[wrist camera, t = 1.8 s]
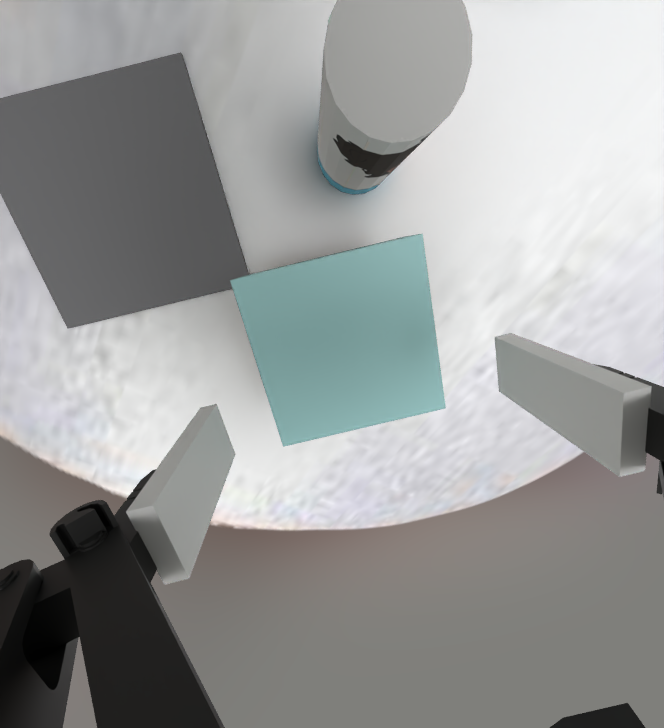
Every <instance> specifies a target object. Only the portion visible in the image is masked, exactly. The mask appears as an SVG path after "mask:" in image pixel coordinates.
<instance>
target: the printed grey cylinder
mask: <svg viewBox="0 0 664 728" xmlns="http://www.w3.org/2000/svg"><path fill="white" fill-rule="evenodd" d="M471 61H472V32H471V28H470V24H469V19H468V15H467V11H466V7H465V5H464V3H463V1H462V0H337V2H336V4H335V6H334V9H333V11H332V13H331V15H330V17H329V20H328V26H327V32H326V38H325V44H324V53H323V68H322V82H321V97H320V112H319V127H318V142H317V153H318V163H319V165H320V168H321V170H322V173H323V175H324V176H325V177H326V179H327V180H328V181H329V183H330V184H331V185H332V186H334V187H335V188H337V189H338V190H340V191H341V192H345V193H349V194H362V193H366V192H368V191H370V190H372V189H374V188H376V187H377V186H378V185H379V184H380V183H381V182H382V181H383V180H384V179H385V178H386V177H387V176H388V175H389V174H390V173H391V172H392V171H393V170H394V169H395V168H396V167H397V166H398V165H399V164H400V163H401V162H402V161H403V160H404V159H405V158H406V157H407V156H408V155H409V154H410V153H411V152H413V151H414V150H415V149H416V148H417V147H418V146H419V145H420V144H421V143H422V142H423V141H424V140H425V139H426V138H427V137H428V136H429V135H430V134H431V133H432V132H433V131H434V130H435V129H436V128H437V127H438V126H439V125H440V124H441V123H442V122H443V121H444V120H445V119H446V118H447V117H448V116H449V115H450V114H451V112H452V111H453V109H454V107H455V105H456V104H457V102H458V100H459V98H460V97H461V95H462V93H463V92H464V89H465V85H466V82H467V78H468V74H469V71H470V67H471Z"/></svg>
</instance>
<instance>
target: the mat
mask: <svg viewBox="0 0 664 728" xmlns="http://www.w3.org/2000/svg"><path fill="white" fill-rule="evenodd" d="M0 193H1V195H2V197H3V199H4V201H5V204H6V206H7V208H8V210H9V212H10V214H11V216H12V218H13V220H14V222H15V224H16V226H17V228H18V230H19V232H20V234H21V236H22V238H23V240H24V242H25V244H26V246H27V248H28V250H29V252H30V254H31V256H32V258H33V260H34V262H35V264H36V266H37V268H38V270H39V272H40V274H41V276H42V278H43V280H44V282H45V284H46V286H47V288H48V290H49V292H50V294H51V296H52V298H53V300H54V302H55V304H56V306H57V308H58V310H59V312H60V314H61V316H62V318H63V320H64V322H65V324H66V326H67V328H72V327H76V326H81V325H85V324H89V323H93V322H97V321H101V320H105V319H109V318H113V317H118V316H122V315H126V314H130V313H134V312H138V311H142V310H146V309H150V308H154V307H159V306H163V305H167V304H171V303H175V302H179V301H183V300H187V299H191V298H196V297H200V296H204V295H208V294H212V293H216V292H220V291H224V290H228V289H233V288H232V285H231V282H230V280H233V279H236V278H239V277H242V276H246V275H249V274H248V270H247V267H246V264H245V260H244V257H243V254H242V250H241V247H240V244H239V240H238V237H237V234H236V230H235V227H234V224H233V221H232V217H231V214H230V211H229V207H228V204H227V201H226V197H225V194H224V191H223V187H222V184H221V181H220V177H219V174H218V171H217V168H216V164H215V161H214V158H213V154H212V151H211V148H210V144H209V141H208V138H207V134H206V131H205V128H204V124H203V121H202V118H201V115H200V111H199V108H198V105H197V101H196V98H195V95H194V91H193V88H192V85H191V81H190V78H189V75H188V71H187V68H186V65H185V62H184V58H183V55H182V54H181V53H177V54H173V55H169V56H166V57H162V58H158V59H154V60H150V61H146V62H142V63H138V64H134V65H130V66H126V67H122V68H118V69H114V70H110V71H106V72H102V73H99V74H95V75H91V76H87V77H83V78H79V79H75V80H71V81H67V82H63V83H59V84H55V85H51V86H47V87H43V88H39V89H35V90H32V91H28V92H24V93H20V94H16V95H12V96H8V97H4V98H0Z"/></svg>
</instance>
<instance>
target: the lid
mask: <svg viewBox="0 0 664 728" xmlns="http://www.w3.org/2000/svg"><path fill="white" fill-rule="evenodd" d="M230 282H231V285H232V288H233V291H234V294H235V297H236V301H237V304H238V307H239V310H240V313H241V316H242V319H243V322H244V325H245V329H246V332H247V335H248V338H249V341H250V344H251V347H252V350H253V353H254V357H255V360H256V363H257V366H258V369H259V372H260V375H261V378H262V381H263V385H264V388H265V391H266V394H267V397H268V400H269V403H270V406H271V409H272V413H273V416H274V419H275V422H276V425H277V428H278V431H279V434H280V437H281V441H282V444H283V447H284V446H288V445H292V444H296V443H301V442H305V441H309V440H313V439H318V438H322V437H326V436H330V435H334V434H339V433H343V432H347V431H351V430H356V429H360V428H364V427H368V426H373V425H377V424H381V423H385V422H389V421H394V420H398V419H402V418H406V417H411V416H415V415H419V414H423V413H428V412H432V411H436V410H440V409H444V408H446V407H445V400H444V392H443V385H442V377H441V370H440V362H439V355H438V347H437V340H436V332H435V325H434V317H433V310H432V302H431V295H430V287H429V280H428V272H427V265H426V257H425V250H424V242H423V235H422V234H418V235H412V236H406V237H401V238H397V239H393V240H389V241H385V242H381V243H377V244H373V245H369V246H364V247H360V248H356V249H352V250H348V251H344V252H340V253H336V254H332V255H328V256H323V257H319V258H315V259H311V260H307V261H303V262H299V263H295V264H291V265H287V266H282V267H278V268H274V269H270V270H266V271H262V272H258V273H254V274H250V275H246V276H242V277H239V278H236V279H233V280H230Z"/></svg>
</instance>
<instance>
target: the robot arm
mask: <svg viewBox="0 0 664 728" xmlns="http://www.w3.org/2000/svg"><path fill="white" fill-rule="evenodd" d="M495 347H496V360H497V372H498V385H499V392H501V393H502V394H504V395H505V396H506V397H508V398H509V399H511V400H512V401H513V402H515V403H516V404H518V405H519V406H521V407H522V408H523V409H525V410H526V411H528V412H529V413H530V414H532V415H533V416H535V417H536V418H537V419H539V420H540V421H542V422H543V423H545V424H546V425H547V426H549V427H550V428H552V429H553V430H554V431H556V432H557V433H559V434H560V435H561V436H563V437H564V438H566V439H567V440H568V441H570V442H571V443H573V444H574V445H576V446H577V447H578V448H580V449H581V450H583V451H584V452H585V453H587V454H588V455H590V456H591V457H592V458H594V459H595V460H597V461H598V462H599V463H601V464H602V465H604V466H605V467H607V468H608V469H609V470H611V471H612V472H614V473H615V474H616V475H618V476H619V477H621V476H625V475H630V474H634V473H637V472H642V471H645V465H646V453H649V454H650V455H652V456H654V457H655V458H657V459H659V460H660V463H659V473H658V485H657V493H659V494H662V493H663V496H664V387H662V386H659V385H657V384H654V383H651V382H649V381H646V380H643V379H640V378H638V377H637V378H635V376H632V375H630V374H627V373H623V372H621V371H619V370H616V369H613V368H611V367H606V366H600V365H595V364H591V363H588V362H586V361H583V360H581V359H578V358H575V357H573V356H570V355H567V354H565V353H562V352H559V351H557V350H554V349H552V348H549V347H546V346H544V345H541V344H538V343H536V342H533V341H531V340H528V339H525V338H523V337H520V336H517V335H515V334H512V333H509V334H505V335H501V336H497V337H495ZM234 457H235V452H234V449H233V447H232V444H231V441H230V439H229V436H228V433H227V431H226V428H225V425H224V423H223V420H222V417H221V415H220V412H219V409H218V407H217V404H215V405H211V406H206V407H202V408H200V409H199V411H198V412H197V413H196V415H195V416H194V418H193V419H192V420H191V422H190V423H189V425H188V426H187V427H186V429H185V430H184V432H183V433H182V434H181V436H180V437H179V439H178V440H177V441H176V443H175V444H174V445H173V447H172V448H171V450H170V451H169V452H168V454H167V455H166V457H165V458H164V459H163V461H162V462H161V464H160V465H159V466H158V468H157V469H156V470H152V471H151V472H150V473H149V474H148V475H146V476H145V477H144V478H143V479H142V480H141V481H140V482H139V483H138V485H137V486H136V487H135V489H134V490H133V492H132V493H131V494H130V495H129V497H128V498H127V501H125V502H124V503H123V505H122V506H121V507H120V509H119V510H118V511H117V513H116V514H115V515H113V513H112V512H111V510H110V508H109V506H108V504H107V503H106V502H105V501H103V500H98V501H93V502H89V503H87V504H84V505H82V506H80V507H78V508H76V509H74V510H73V511H71V512H69V513H68V514H66V515H65V516H64V517H63V518H61V519H60V520H59V521H58V522H57V523H56V524H55V525H54V526H53V528H52V529H51V531H50V537H51V538H52V540H53V541H54V543H55V544H56V546H57V547H58V549H59V551H60V552H61V554H62V555H63V557H64V559H65V560H63V561H60V562H58V563H56V564H54V565H51V566H49V567H47V568H45V569H42V570H41V571H39V569H38V568H37V566H36V565H35V563H34V562H33V561H31V560H21V561H19V562H16V563H13V564H11V565H9V566H7V567H5V568H4V569H1V570H0V728H63V722H64V716H65V711H66V705H67V700H68V694H69V688H70V682H71V677H72V671H73V665H74V659H75V653H76V648H77V642H78V637H80V640H81V646H82V651H83V656H84V661H85V666H86V672H87V676H88V682H89V687H90V692H91V697H92V703H93V707H94V713H95V718H96V723H97V728H225V727H224V726H223V724H222V722H221V720H220V718H219V716H218V714H217V712H216V710H215V708H214V706H213V704H212V702H211V700H210V698H209V696H208V694H207V692H206V690H205V688H204V686H203V684H202V683H201V680H200V678H199V677H198V675H197V673H196V671H195V669H194V667H193V665H192V663H191V661H190V659H189V657H188V655H187V653H186V651H185V649H184V647H183V645H182V643H181V641H180V640H179V637H178V635H177V633H176V632H175V630H174V628H173V626H172V624H171V622H170V620H169V618H168V616H167V614H166V612H165V610H164V608H163V606H162V604H161V602H160V600H159V598H158V596H157V594H156V592H155V591H154V589H153V587H152V585H151V583H150V582H151V580H152V578H153V576H154V574H155V572H156V570H157V572H158V574H159V575H160V577H161V579H162V581H163V583H164V584H169V583H173V582H177V581H181V580H185V579H189V578H190V575H191V572H192V570H193V567H194V564H195V561H196V559H197V556H198V553H199V551H200V548H201V545H202V543H203V540H204V537H205V535H206V532H207V529H208V526H209V524H210V521H211V518H212V516H213V513H214V510H215V508H216V505H217V502H218V500H219V497H220V494H221V492H222V489H223V486H224V483H225V481H226V478H227V475H228V473H229V470H230V467H231V465H232V462H233V459H234ZM550 728H645V727H644V725H643V724H642V722H641V721H640V720H639V718H638V717H637V715H636V714H635V713H634V711H633V710H632V708H631V707H630V706H629V704H628V703H625V704H621V705H617V706H612V707H608V708H603V709H599V710H595V711H591V712H586V713H582V714H577V715H574V716H569V717H564V718H562V719H561V720H560V721H558V722H557V723H556V724H554V725H553V726H551V727H550Z"/></svg>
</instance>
